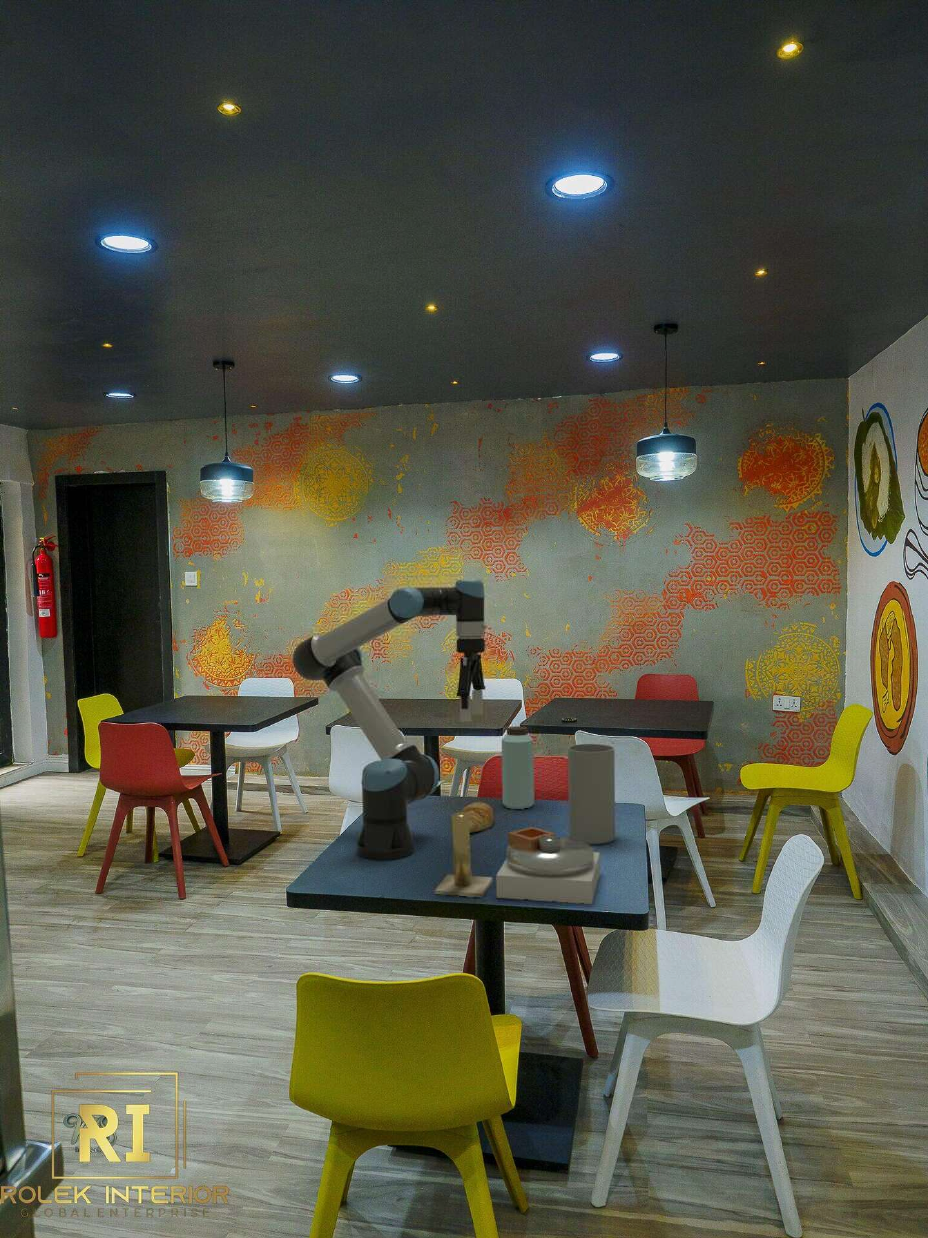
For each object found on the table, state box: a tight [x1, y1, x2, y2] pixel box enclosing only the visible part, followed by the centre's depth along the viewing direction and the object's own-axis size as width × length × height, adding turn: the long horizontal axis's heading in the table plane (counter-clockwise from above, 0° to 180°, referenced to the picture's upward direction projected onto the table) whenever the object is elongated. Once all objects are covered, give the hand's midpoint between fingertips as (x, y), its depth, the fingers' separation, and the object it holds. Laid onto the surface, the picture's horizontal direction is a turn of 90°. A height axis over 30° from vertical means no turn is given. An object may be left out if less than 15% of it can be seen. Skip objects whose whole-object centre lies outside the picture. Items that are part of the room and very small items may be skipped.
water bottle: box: [501, 725, 535, 810], centre depth 270 cm, size 10×10×25 cm
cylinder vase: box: [567, 743, 616, 846], centre depth 233 cm, size 12×12×25 cm
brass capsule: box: [451, 811, 472, 887], centre depth 196 cm, size 4×4×16 cm
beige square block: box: [495, 851, 601, 905], centre depth 197 cm, size 21×21×5 cm
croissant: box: [460, 801, 495, 834], centre depth 249 cm, size 21×10×8 cm, turn 166°
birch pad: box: [434, 874, 494, 899], centre depth 196 cm, size 11×11×1 cm
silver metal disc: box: [506, 826, 595, 876], centre depth 197 cm, size 20×20×6 cm
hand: (471, 717), depth 226 cm, fingers open, 13 cm apart
